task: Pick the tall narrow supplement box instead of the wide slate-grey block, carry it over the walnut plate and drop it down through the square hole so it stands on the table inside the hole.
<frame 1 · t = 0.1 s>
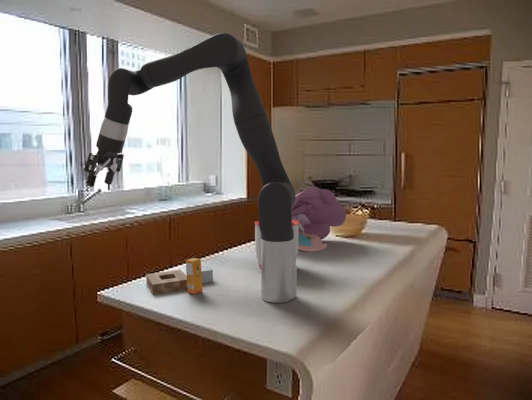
hand: (99, 184, 125), 31 cm above the counter, tool tilted 20°, fingers open, 8 cm apart
wide block: (201, 280, 131), on the counter
hole plate: (167, 285, 126), on the counter
citrus juicer: (275, 269, 143), on the counter
supplement box: (194, 292, 120), on the counter
flower arrangement: (304, 246, 177), on the counter
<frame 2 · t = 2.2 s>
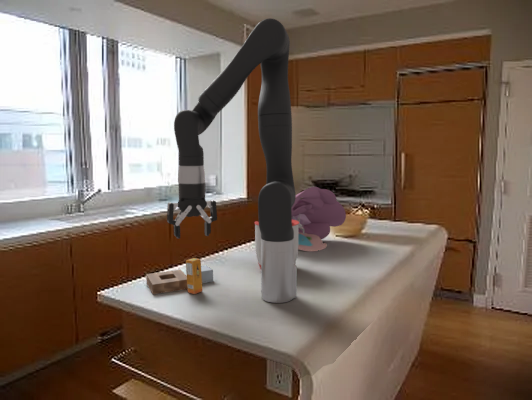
hand: (192, 236, 118), 17 cm above the counter, tool pointing down, fingers open, 8 cm apart
nothing on the counter moved.
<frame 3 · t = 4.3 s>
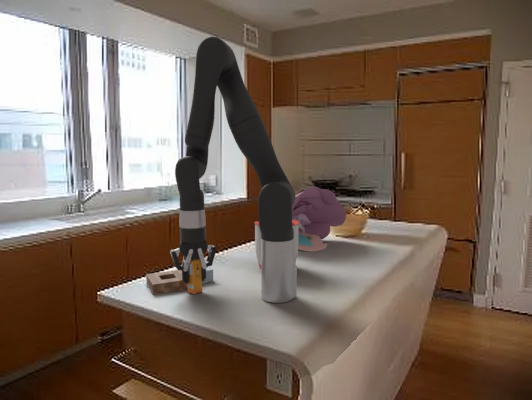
hand: (194, 281, 120), 3 cm above the counter, tool pointing down, fingers closed on supplement box, 4 cm apart
supplement box: (194, 292, 120), on the counter, touching gripper
everything else where it was.
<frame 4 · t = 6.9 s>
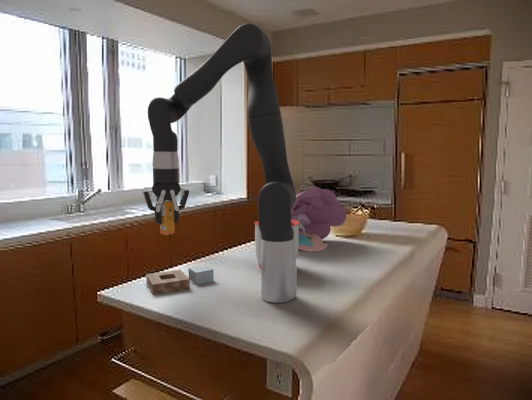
hand: (166, 223, 123), 20 cm above the counter, tool pointing down, fingers closed on supplement box, 4 cm apart
supplement box: (167, 234, 123), point 16 cm above the counter, touching gripper
everything else where it was.
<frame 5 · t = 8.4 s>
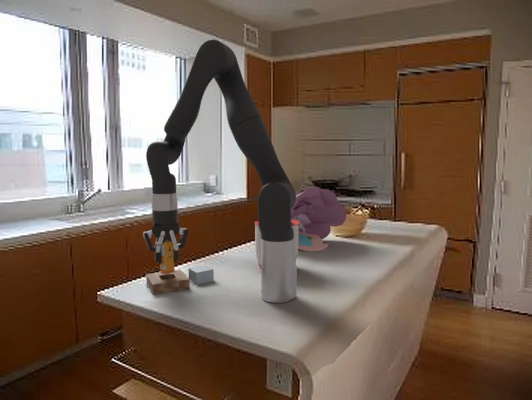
hand: (166, 262, 125), 8 cm above the counter, tool pointing down, fingers closed on supplement box, 4 cm apart
supplement box: (167, 273, 125), point 4 cm above the counter, touching gripper
everything else where it was.
when the fingers open (5 cm above the counter, at t = 9.4 s): supplement box drops 1 cm, on the counter.
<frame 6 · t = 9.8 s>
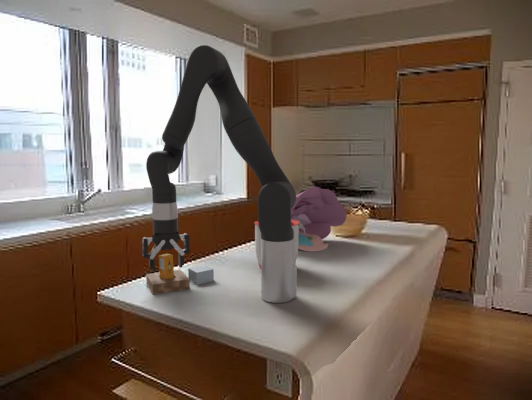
hand: (167, 268, 125), 6 cm above the counter, tool pointing down, fingers open, 8 cm apart
supplement box: (167, 286, 126), on the counter
everything else where it was.
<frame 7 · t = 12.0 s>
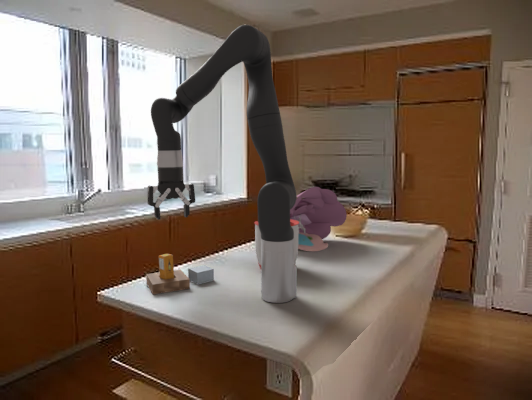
hand: (172, 218, 125), 21 cm above the counter, tool pointing down, fingers open, 8 cm apart
nothing on the counter moved.
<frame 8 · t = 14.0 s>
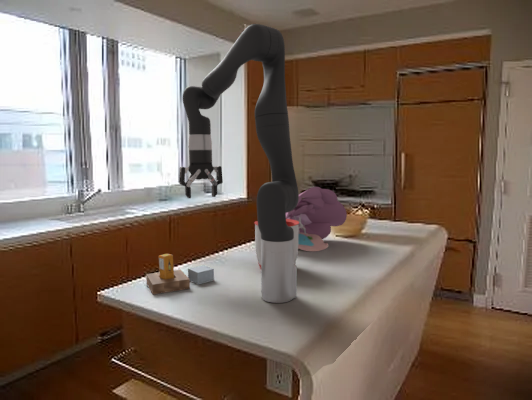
hand: (201, 197, 136), 26 cm above the counter, tool pointing down, fingers open, 8 cm apart
nothing on the counter moved.
at the end: supplement box 0.2 cm off-centre on the hole plate, point 0.0 cm above the hole plate's base; the gripper is holding nothing; supplement box tilted 0° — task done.
